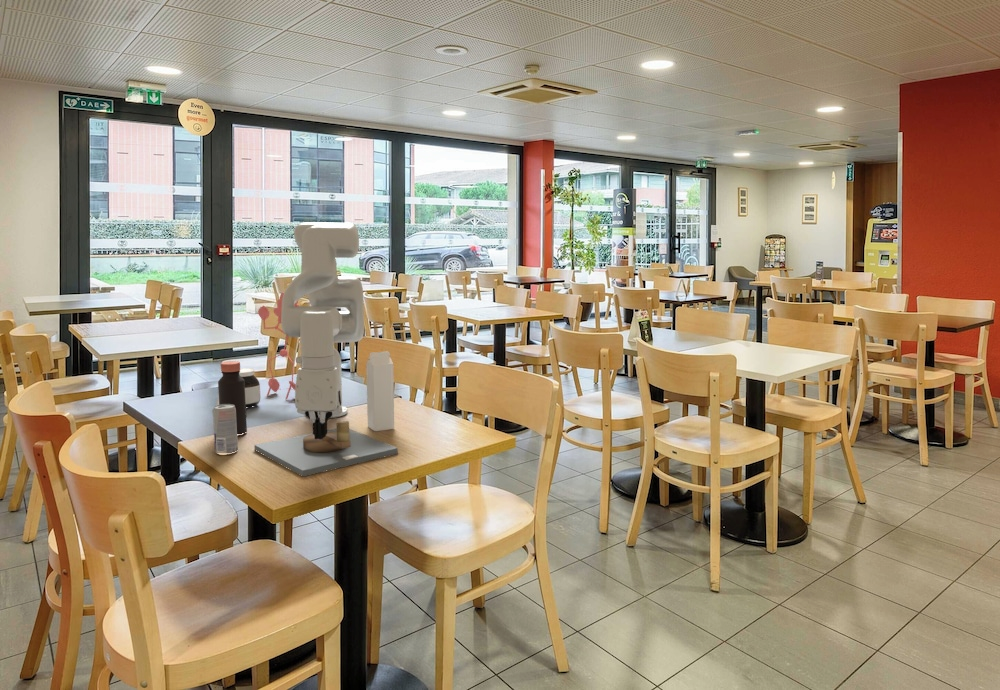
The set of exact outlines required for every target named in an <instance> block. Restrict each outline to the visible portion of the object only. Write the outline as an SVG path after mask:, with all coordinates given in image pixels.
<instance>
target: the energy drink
mask: <svg viewBox="0 0 1000 690" xmlns="http://www.w3.org/2000/svg"><path fill="white" fill-rule="evenodd" d="M212 419H213V437H214V453H215V452H217V453H232V452H235V451H237V450H239V449H238V448H239V447H238V436H237V423H236V408H235V405H233V404H221V405H217V404H216V405H213V409H212ZM237 452H238V451H237Z"/></svg>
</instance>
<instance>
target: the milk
mask: <svg viewBox="0 0 1000 690" xmlns="http://www.w3.org/2000/svg"><path fill="white" fill-rule="evenodd" d="M390 356H391V354H390V351H378V352H377V351H376V352H375V351H374V352H369V358H368V360H367V361H366V362H365V363H366V366H365V367H366V405H367V407H366V410H367V411H366V412H367V414H366V415H367V427H368V428H369V429H371V430H372V431H373V432H381V431H388V430H395V390H394V389H395V388H394V386H395V385H394V383H395V382H394V379H395V378H394V362H393V360H392V358H391V357H390Z"/></svg>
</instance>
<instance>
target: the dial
mask: <svg viewBox="0 0 1000 690" xmlns="http://www.w3.org/2000/svg"><path fill="white" fill-rule="evenodd" d="M335 425H336V426H335V427H336V428H337V432H327V435H326V436H325V437H324V438H323V439H315V436H314V435H313V434H311V433H310V434H311V435H308V436H306V437H304V438H303V448H304V449H305V450H307V451H311V452H332V451H337V450H341V449H344V448H347V447H351V441H350V440H349V429H350V421H348V420H339V421H336V422H335ZM336 428H335V429H336Z"/></svg>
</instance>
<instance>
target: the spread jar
mask: <svg viewBox="0 0 1000 690" xmlns="http://www.w3.org/2000/svg"><path fill="white" fill-rule="evenodd" d="M239 375H240V376H241V377H242V378H243V379H244V381H245V401H246V407H252V406H255V407H256V406H258V405H259V403H260V402H261V383H260V381H259V379H258V378H257V377H256V376H255V369H253V368H240V372H239ZM216 405H219V394H218V396H217V401H216ZM252 408H253V407H252Z"/></svg>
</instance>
